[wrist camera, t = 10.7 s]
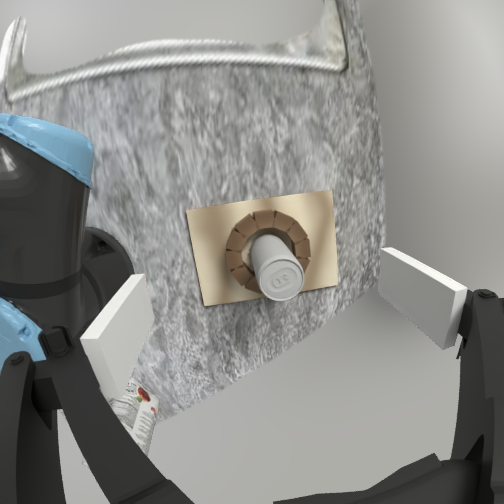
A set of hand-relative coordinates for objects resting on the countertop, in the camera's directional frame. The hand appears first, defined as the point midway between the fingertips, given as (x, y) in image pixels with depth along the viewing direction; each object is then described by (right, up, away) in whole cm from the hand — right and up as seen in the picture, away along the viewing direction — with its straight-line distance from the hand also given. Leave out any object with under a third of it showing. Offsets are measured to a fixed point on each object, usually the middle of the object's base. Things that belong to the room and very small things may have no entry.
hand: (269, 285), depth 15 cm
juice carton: (-22, -25, +31) cm, 46 cm away
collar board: (+1, +2, +26) cm, 26 cm away
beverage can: (+1, +2, +25) cm, 25 cm away
